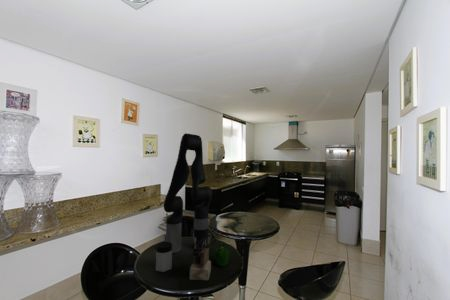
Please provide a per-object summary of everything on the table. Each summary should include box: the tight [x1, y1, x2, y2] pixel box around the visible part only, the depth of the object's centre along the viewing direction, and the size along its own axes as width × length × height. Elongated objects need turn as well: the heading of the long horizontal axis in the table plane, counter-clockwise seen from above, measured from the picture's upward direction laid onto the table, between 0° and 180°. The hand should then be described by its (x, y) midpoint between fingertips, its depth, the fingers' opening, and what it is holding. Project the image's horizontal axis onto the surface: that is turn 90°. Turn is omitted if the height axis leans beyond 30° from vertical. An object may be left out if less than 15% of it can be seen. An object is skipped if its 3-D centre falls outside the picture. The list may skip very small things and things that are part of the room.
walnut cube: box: [192, 247, 210, 266], centre depth 107 cm, size 6×6×6 cm
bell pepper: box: [214, 246, 231, 267], centre depth 117 cm, size 8×8×10 cm
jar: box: [155, 241, 173, 273], centre depth 113 cm, size 9×8×12 cm
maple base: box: [189, 260, 212, 281], centre depth 107 cm, size 9×9×5 cm
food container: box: [192, 231, 212, 249], centre depth 138 cm, size 12×6×10 cm, turn 84°
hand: (200, 260), depth 107 cm, fingers closed on walnut cube, 6 cm apart
